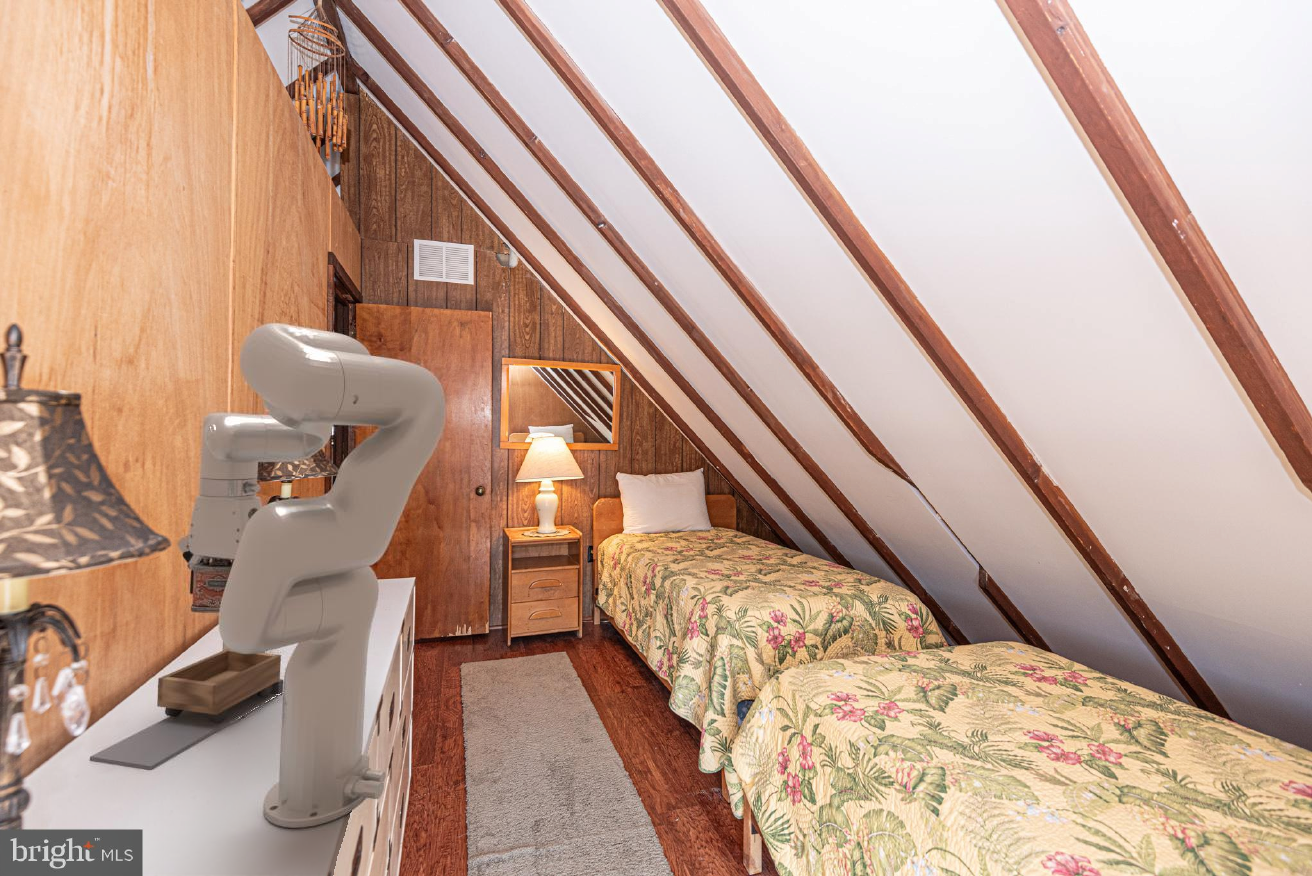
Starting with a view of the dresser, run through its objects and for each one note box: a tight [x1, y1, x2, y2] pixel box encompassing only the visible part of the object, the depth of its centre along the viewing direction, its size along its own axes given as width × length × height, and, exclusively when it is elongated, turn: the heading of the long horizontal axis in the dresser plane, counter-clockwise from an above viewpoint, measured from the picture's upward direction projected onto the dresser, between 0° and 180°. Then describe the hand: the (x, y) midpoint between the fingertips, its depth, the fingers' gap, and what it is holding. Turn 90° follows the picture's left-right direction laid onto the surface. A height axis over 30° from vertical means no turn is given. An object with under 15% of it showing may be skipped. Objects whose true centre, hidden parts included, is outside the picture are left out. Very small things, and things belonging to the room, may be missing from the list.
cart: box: [156, 649, 282, 723], centre depth 96 cm, size 11×13×7 cm
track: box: [89, 678, 284, 771], centre depth 92 cm, size 10×24×2 cm, turn 172°
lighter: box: [190, 556, 234, 614], centre depth 93 cm, size 8×3×10 cm, turn 108°
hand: (223, 594), depth 94 cm, fingers closed on lighter, 7 cm apart
